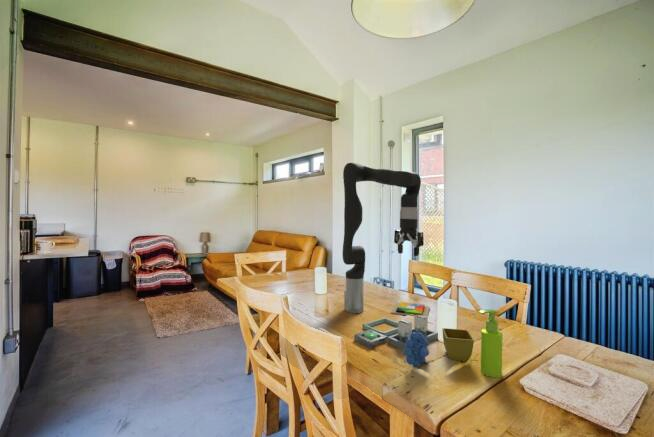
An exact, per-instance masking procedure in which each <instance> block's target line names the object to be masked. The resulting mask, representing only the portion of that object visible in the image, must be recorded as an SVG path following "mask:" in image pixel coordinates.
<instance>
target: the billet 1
mask: <svg viewBox="0 0 654 437" xmlns="http://www.w3.org/2000/svg"><path fill="white" fill-rule="evenodd" d="M397 322H398V332H397V334H398V340H399V341H401V342H404V343H405V340H406V339H407V338H411V337H410V334H411V333H412V328H413V322H412V321H410V320H407V319H401V320H398V321H397Z"/></svg>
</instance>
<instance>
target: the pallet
mask: <svg viewBox="0 0 654 437" xmlns="http://www.w3.org/2000/svg"><path fill="white" fill-rule="evenodd" d="M412 332H414V327H412ZM387 337H388V339H387V344H389V345H391V346H393V347H395V348H398V349H400V350H402V351H403V350H404V348H405V347H408V346H406V344H405V343H404V342H401V341H399V340H398V333H395V334H392V335H389V336H387ZM425 339H427V341H428V343H429V344H430V343H431V342H433V341H435V340H438V339H439V333H438V332H437V331H433V330H431V329H430V328H429V329H428V335H427V336H425Z"/></svg>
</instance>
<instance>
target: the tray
mask: <svg viewBox="0 0 654 437" xmlns="http://www.w3.org/2000/svg"><path fill="white" fill-rule="evenodd" d="M383 323H384V324H385V323H386V324H389V325H392V326H394V327H395V328H391V329H389V330H386V331H381V330H379V329H376V328H375V327H374V326H378V325H381V324H383ZM370 329H371V330H374V331H376V332H378V333H380V334H383V335H385V336H387V337H389V336H392V335H395V334H398V321H395V320H393V319H391V318H387V317H382V318H379V319H375V320H373V321H369V322H366V323H363V324H362V330H365V331H367V330H370Z"/></svg>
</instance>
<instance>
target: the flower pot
mask: <svg viewBox="0 0 654 437" xmlns="http://www.w3.org/2000/svg"><path fill="white" fill-rule="evenodd" d="M442 338H443V340H442V341H443V346H444V349H445V351H446V354H447V357H448V359H449V360H455V361H456V360H457V361H460V363H468V362H469V360H470V359H471V357H472V354H473V350H474V349H473V348H474V342H475V339H474V337H473V335H471V333H470V332H469V330H468V329H458V328H446V327H444V328H442Z"/></svg>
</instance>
